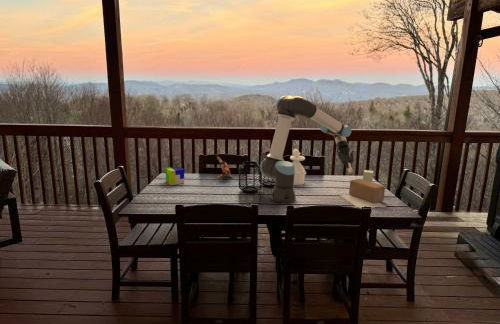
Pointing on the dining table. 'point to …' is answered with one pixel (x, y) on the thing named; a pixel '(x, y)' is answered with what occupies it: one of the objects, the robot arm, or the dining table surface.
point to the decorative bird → (224, 168)
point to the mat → (361, 202)
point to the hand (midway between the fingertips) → (350, 172)
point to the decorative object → (298, 168)
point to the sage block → (368, 175)
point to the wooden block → (367, 190)
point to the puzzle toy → (174, 175)
